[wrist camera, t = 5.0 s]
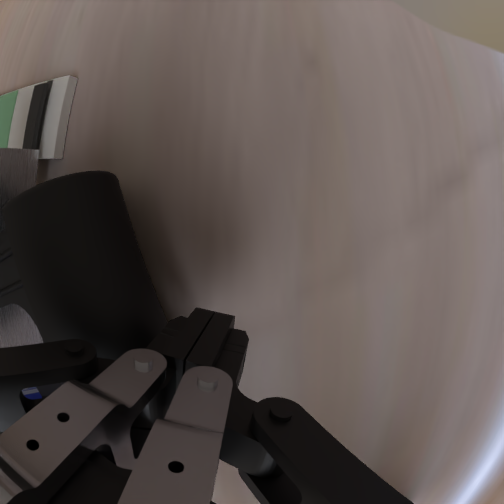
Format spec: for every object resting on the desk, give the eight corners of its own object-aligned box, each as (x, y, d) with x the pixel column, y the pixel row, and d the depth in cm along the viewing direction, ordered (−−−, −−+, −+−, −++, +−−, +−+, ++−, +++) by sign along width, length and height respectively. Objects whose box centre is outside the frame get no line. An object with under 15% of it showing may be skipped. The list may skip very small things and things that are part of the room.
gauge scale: (77, 78, 13) (68, 74, 12) (62, 159, 14) (52, 158, 13) (-13, 104, 14) (-20, 103, 13) (-22, 162, 15) (-30, 162, 14)
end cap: (212, 355, 15) (166, 446, 8) (113, 367, 16) (53, 431, 10) (146, 171, 13) (47, 166, 7) (55, 218, 15) (-34, 238, 8)
